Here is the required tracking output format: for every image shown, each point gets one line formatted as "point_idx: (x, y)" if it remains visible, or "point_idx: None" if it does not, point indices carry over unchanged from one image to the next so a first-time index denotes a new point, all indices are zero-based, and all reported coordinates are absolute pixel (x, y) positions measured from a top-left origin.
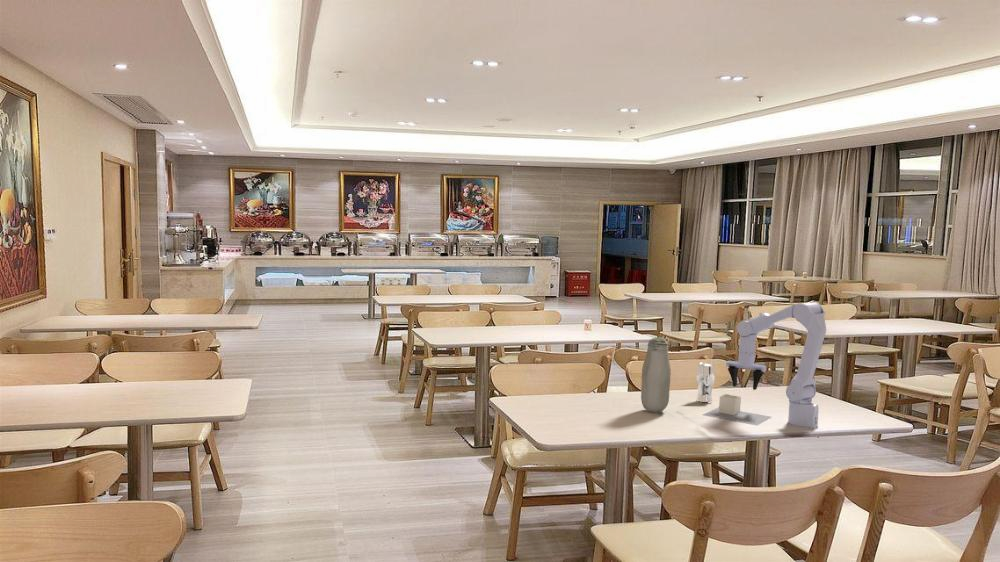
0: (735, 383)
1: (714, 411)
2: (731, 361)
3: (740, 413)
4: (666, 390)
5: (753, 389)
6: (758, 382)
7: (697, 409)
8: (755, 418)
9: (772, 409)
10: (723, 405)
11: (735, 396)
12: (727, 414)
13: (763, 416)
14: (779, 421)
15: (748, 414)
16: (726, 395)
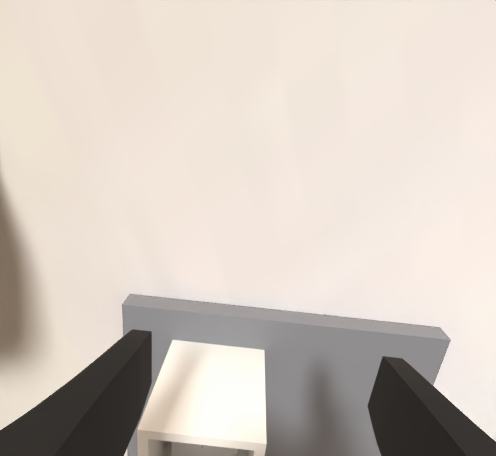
0: (138, 394)
1: (145, 405)
2: None
3: (272, 369)
4: None
5: (372, 408)
6: (478, 430)
7: (36, 342)
8: (364, 418)
9: (438, 11)
10: None
11: (225, 443)
12: None
13: None
14: (480, 329)
15: (316, 365)
16: (151, 429)
